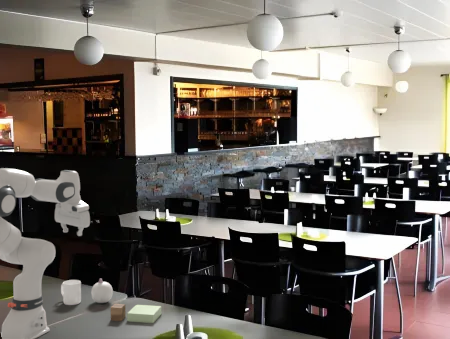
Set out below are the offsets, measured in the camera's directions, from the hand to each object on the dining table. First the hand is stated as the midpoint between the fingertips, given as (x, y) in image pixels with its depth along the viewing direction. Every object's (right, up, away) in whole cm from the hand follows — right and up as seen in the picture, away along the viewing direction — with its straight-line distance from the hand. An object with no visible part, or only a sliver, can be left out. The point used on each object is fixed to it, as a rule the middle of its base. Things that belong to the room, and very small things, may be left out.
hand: (72, 233), depth 256 cm
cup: (-5, -35, +14) cm, 38 cm away
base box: (+34, -37, -7) cm, 51 cm away
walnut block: (+23, -37, -9) cm, 44 cm away
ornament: (+11, -35, +13) cm, 39 cm away
